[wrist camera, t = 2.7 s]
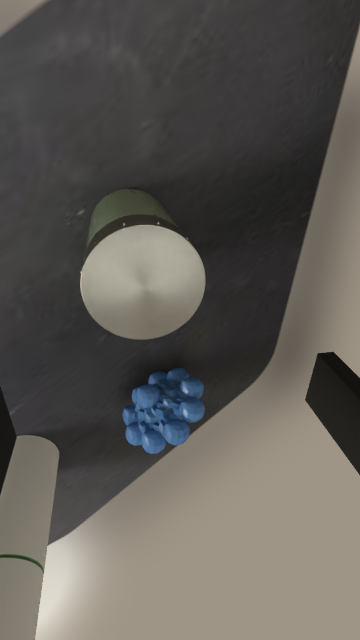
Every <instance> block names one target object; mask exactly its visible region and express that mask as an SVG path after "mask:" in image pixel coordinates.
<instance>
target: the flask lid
mask: <svg viewBox="0 0 360 640" xmlns="http://www.w3.org/2000/svg"><path fill="white" fill-rule="evenodd" d="M80 272H82V273H81V283H80V284H81V294H82V298H83V301H84V304H85V306H86V308H87V310H88V312H89V313H90V315H91V316H92V317H93V319H94V320H95V321H96V322H97V323H98V324H100V325H101V326H102V327H103V328H105V329H106V330H108V331H110V332H111V333H114V334H116V335H118V336H121V337H125V338H130V339H140V340H141V339H152V338H157V337H161V336H164V335H166V334H169V333H171V332H173V331H175V330H176V329H178V328H179V327H181V326H182V325H183V324H185V323H186V322H187V321H188V320H189V319H190V318H191V317H192V315H193V314H194V313H195V311H196V310H197V308H198V306H199V305H200V302H201V300H202V297H203V294H204V290H205V271H204V266H203V263H202V260H201V258H200V256H199V254H198V252H197V251H196V249H195V248H194V246H193V245H192V244H191V242H190V241H189V240H188V237H187V236H186V235H185V233H184V232H183V231H182V230H180V229H179V228H178V227H176V226H175V225H174V224H172V223H171V222H169V221H167V220H165V219H163V218H160V217H157V216H156V215H154V216H153V215H148V214H133V215H127V216H122V217H120V218H118V219H115V220H113V221H111V222H110V223H108V224H107V225H105V226H104V227H102V228H101V229H100V230H99V231H98V232H97V233H95V236H94V237H93V238H92V240H91V241H90V243H89V245H88V247H87V249H86V252H85V255H84V260H82V265H81V271H80Z"/></svg>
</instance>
